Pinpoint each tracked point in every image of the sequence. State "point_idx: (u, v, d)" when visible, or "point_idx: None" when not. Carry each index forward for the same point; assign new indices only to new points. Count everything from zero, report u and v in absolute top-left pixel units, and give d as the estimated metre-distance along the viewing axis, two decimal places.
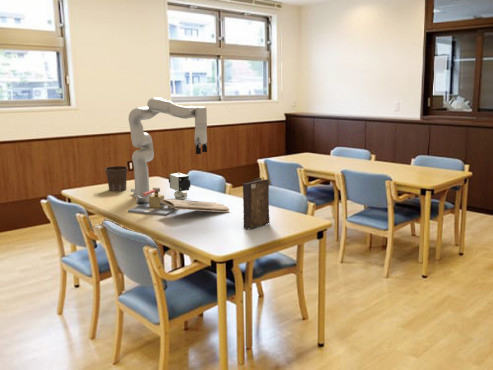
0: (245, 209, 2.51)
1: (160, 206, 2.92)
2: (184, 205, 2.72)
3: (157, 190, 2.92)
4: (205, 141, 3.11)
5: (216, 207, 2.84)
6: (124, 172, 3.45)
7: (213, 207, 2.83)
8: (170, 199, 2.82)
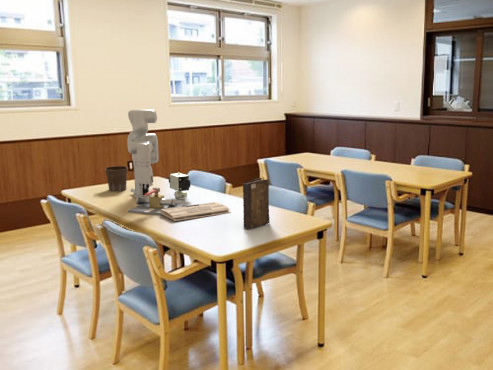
0: (245, 209, 2.51)
1: (160, 206, 2.92)
2: (183, 215, 2.72)
3: (157, 190, 2.92)
4: None
5: (216, 210, 2.84)
6: (124, 172, 3.45)
7: (213, 210, 2.82)
8: (169, 208, 2.82)
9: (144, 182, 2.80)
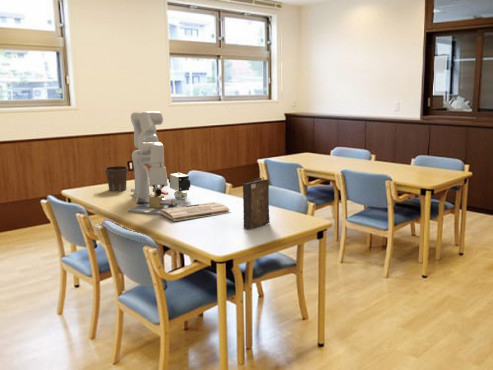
0: (245, 209, 2.51)
1: (160, 206, 2.92)
2: (183, 215, 2.72)
3: None
4: None
5: (216, 210, 2.84)
6: (124, 172, 3.45)
7: (213, 210, 2.82)
8: (169, 208, 2.82)
9: (161, 183, 2.80)
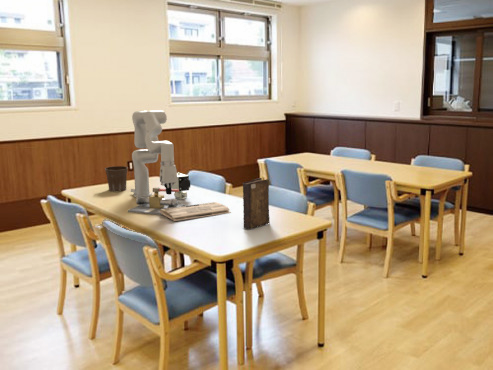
0: (245, 209, 2.51)
1: (160, 206, 2.92)
2: (183, 215, 2.72)
3: None
4: None
5: (216, 210, 2.84)
6: (124, 172, 3.45)
7: (213, 210, 2.82)
8: (169, 208, 2.82)
9: (174, 180, 2.86)
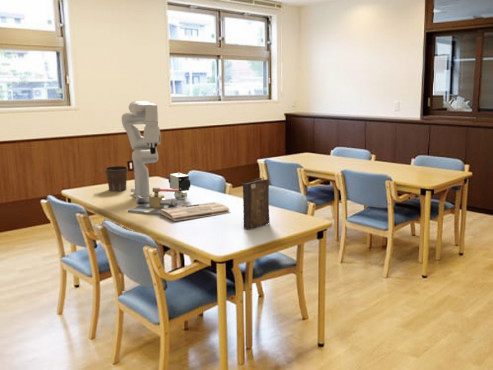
0: (245, 209, 2.51)
1: (160, 206, 2.92)
2: (183, 215, 2.72)
3: None
4: None
5: (216, 210, 2.84)
6: (124, 172, 3.45)
7: (213, 210, 2.82)
8: (169, 208, 2.82)
9: (153, 141, 2.98)
